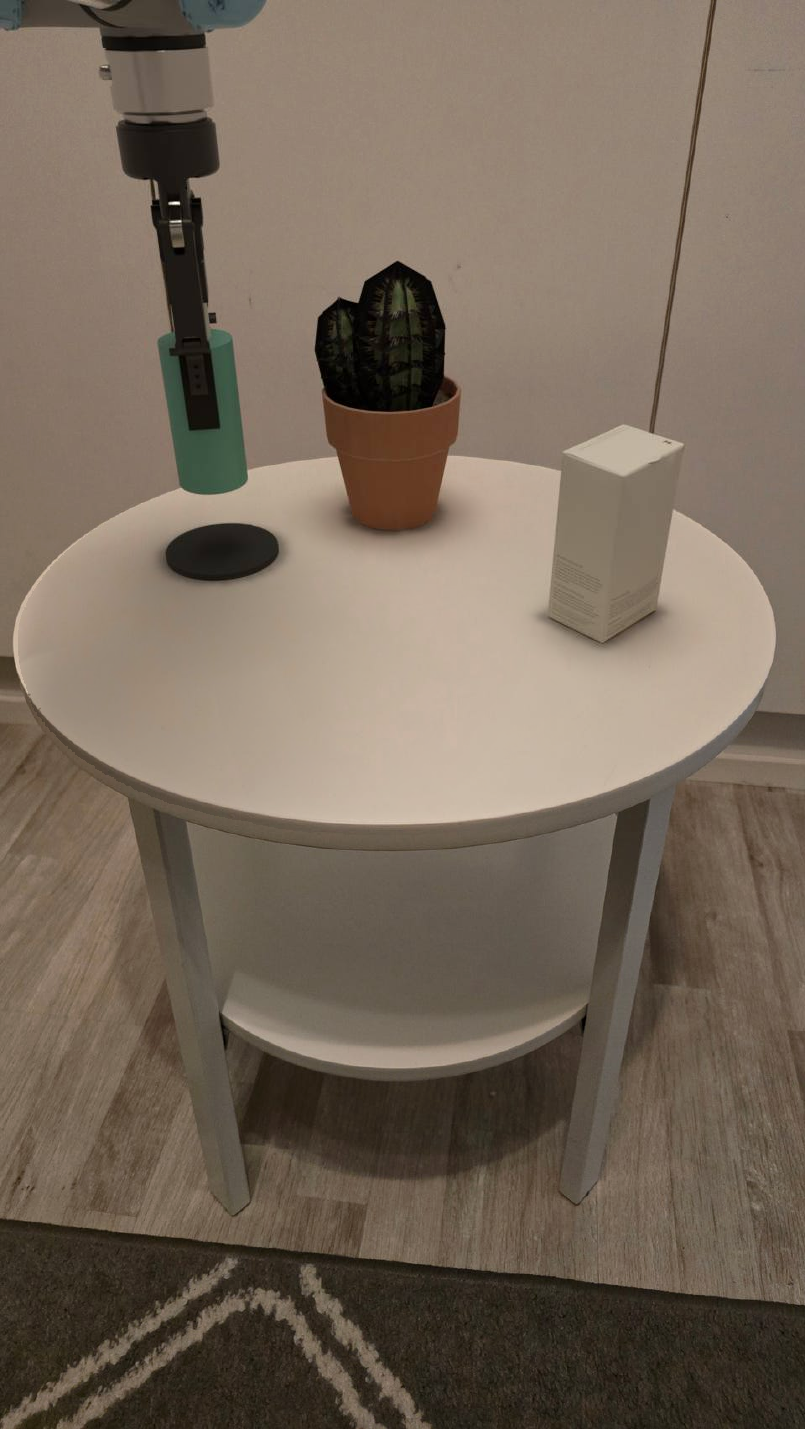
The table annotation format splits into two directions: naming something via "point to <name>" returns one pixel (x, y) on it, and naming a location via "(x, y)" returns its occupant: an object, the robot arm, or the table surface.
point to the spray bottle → (219, 453)
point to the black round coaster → (222, 551)
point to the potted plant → (388, 397)
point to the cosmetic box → (612, 530)
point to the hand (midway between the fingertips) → (204, 413)
